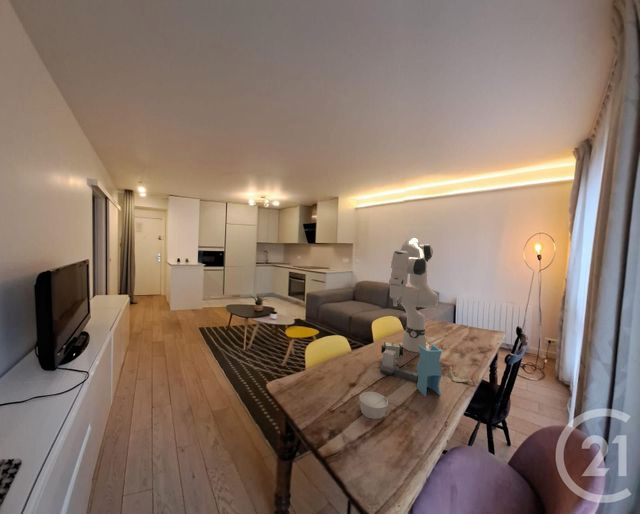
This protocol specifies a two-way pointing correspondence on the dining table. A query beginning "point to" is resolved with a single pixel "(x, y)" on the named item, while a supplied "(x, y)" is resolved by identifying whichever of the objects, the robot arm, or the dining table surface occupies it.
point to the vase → (429, 369)
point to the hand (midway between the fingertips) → (397, 304)
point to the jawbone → (454, 378)
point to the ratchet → (400, 373)
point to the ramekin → (373, 404)
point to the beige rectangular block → (389, 359)
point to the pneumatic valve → (393, 348)
